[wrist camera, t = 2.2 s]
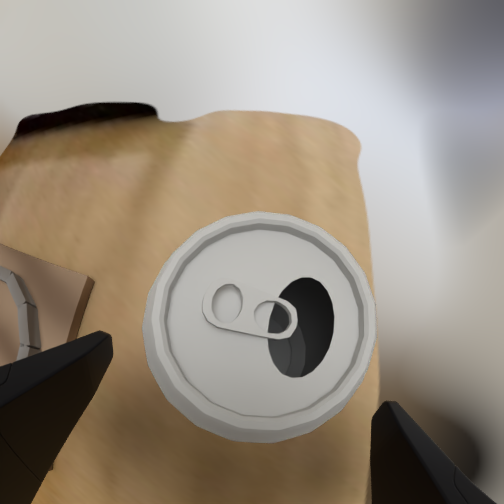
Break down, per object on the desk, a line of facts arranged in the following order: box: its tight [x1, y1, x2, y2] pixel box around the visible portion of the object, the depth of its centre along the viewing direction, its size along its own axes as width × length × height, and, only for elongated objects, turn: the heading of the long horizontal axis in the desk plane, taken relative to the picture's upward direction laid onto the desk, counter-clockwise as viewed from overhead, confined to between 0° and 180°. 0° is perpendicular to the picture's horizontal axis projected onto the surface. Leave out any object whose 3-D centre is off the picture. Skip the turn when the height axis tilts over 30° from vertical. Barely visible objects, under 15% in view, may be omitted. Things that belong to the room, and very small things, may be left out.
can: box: [142, 211, 377, 443], centre depth 12 cm, size 8×8×12 cm
